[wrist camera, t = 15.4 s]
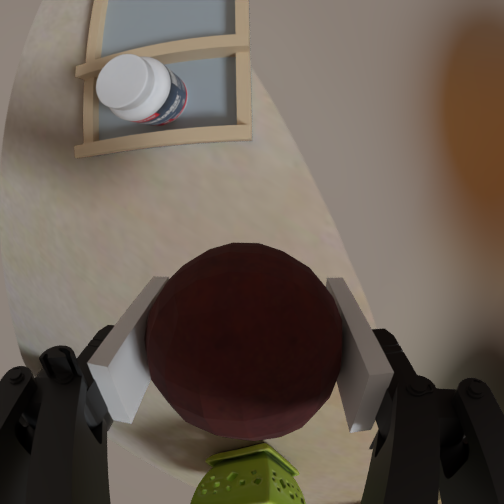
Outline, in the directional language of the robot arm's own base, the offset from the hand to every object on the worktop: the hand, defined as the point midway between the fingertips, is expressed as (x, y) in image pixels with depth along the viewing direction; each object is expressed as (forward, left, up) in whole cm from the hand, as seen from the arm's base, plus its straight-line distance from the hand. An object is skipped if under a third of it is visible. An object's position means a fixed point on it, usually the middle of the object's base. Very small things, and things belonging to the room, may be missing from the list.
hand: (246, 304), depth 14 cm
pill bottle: (-8, +13, -15) cm, 21 cm away
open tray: (-8, +19, -15) cm, 25 cm away
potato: (0, 0, -1) cm, 1 cm away
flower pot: (-1, -40, -15) cm, 43 cm away
